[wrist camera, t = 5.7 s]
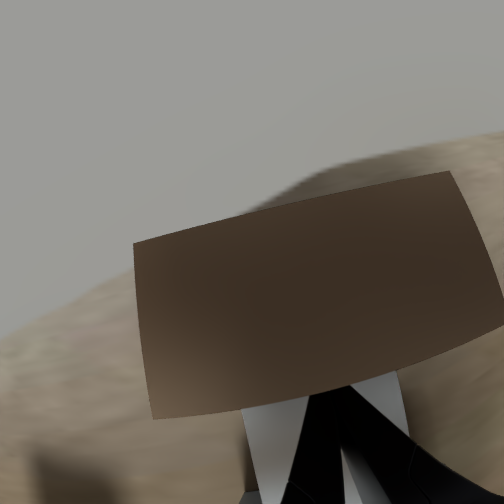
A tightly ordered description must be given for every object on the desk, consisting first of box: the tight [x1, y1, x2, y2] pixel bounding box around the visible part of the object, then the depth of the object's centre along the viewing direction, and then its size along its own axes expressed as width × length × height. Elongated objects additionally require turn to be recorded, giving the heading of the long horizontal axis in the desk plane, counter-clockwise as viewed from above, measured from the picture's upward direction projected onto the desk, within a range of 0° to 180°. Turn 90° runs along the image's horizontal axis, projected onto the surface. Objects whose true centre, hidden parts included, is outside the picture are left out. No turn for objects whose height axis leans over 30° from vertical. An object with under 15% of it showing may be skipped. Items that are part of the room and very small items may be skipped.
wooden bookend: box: [133, 171, 504, 504], centre depth 9 cm, size 11×6×13 cm, turn 11°
